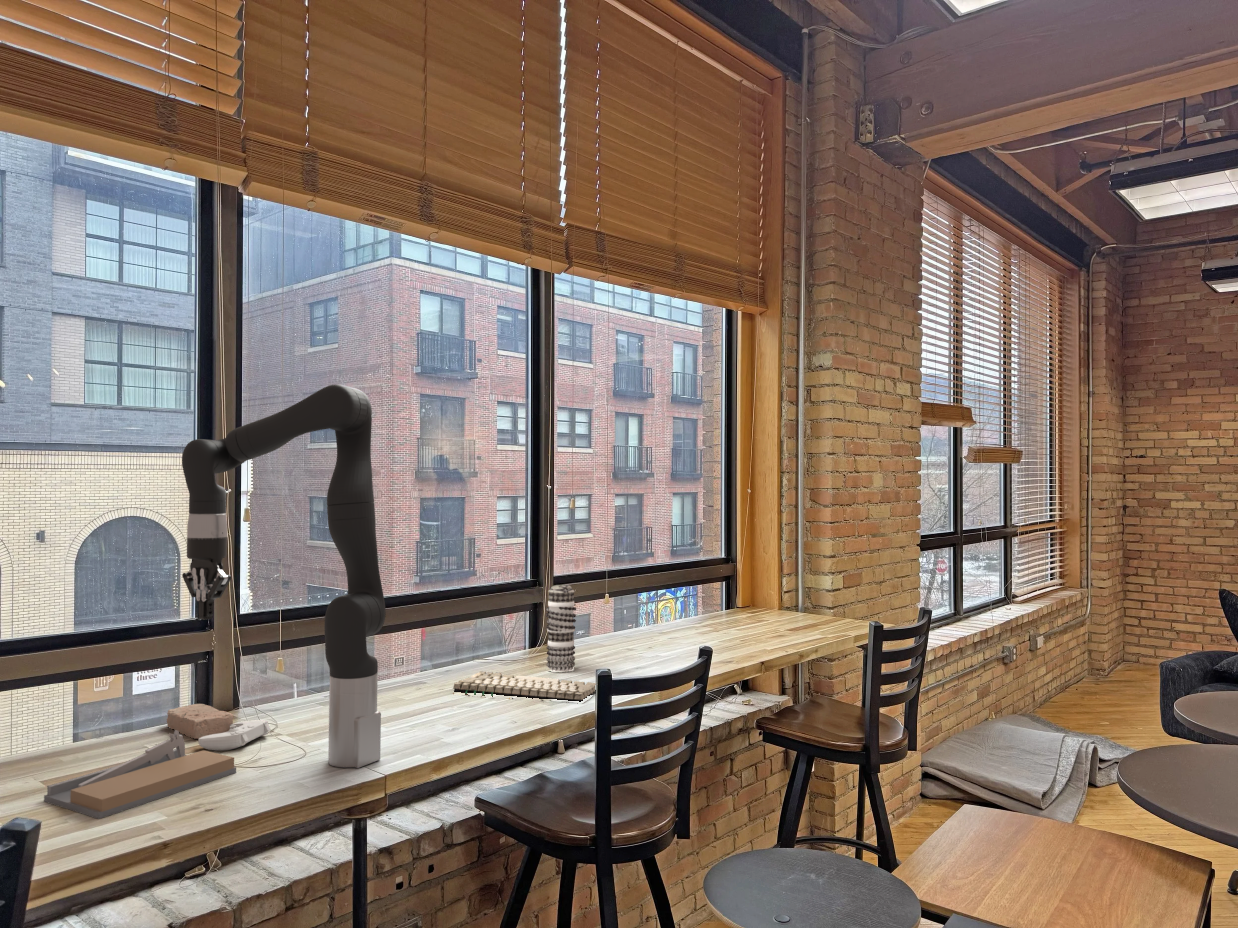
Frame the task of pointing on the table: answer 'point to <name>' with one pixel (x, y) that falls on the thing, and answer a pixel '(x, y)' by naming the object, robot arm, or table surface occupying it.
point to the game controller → (235, 735)
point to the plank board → (139, 784)
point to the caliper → (145, 758)
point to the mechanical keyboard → (524, 687)
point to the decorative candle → (561, 628)
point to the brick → (199, 720)
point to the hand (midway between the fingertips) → (205, 618)
